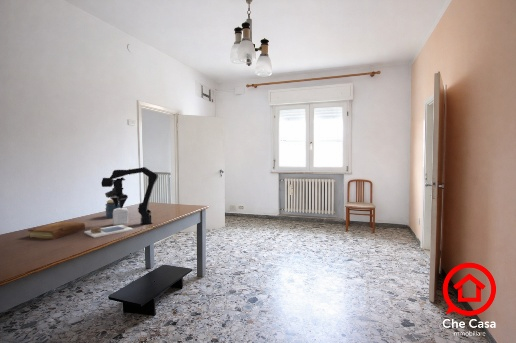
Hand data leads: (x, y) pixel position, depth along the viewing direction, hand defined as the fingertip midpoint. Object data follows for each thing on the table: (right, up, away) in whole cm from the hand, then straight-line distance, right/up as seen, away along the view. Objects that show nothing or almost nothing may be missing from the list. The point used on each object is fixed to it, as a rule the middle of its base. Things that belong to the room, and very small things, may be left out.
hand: (118, 207), depth 196 cm
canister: (-17, -13, +27) cm, 34 cm away
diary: (-27, -15, -23) cm, 39 cm away
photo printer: (0, -13, +3) cm, 13 cm away
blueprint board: (+3, -14, -18) cm, 23 cm away
